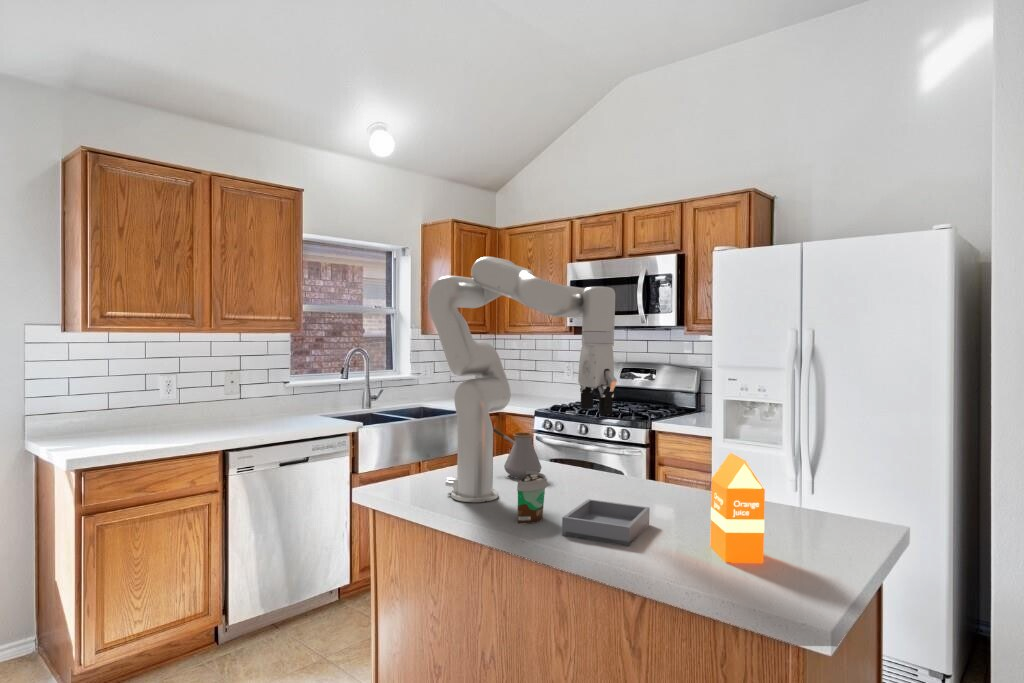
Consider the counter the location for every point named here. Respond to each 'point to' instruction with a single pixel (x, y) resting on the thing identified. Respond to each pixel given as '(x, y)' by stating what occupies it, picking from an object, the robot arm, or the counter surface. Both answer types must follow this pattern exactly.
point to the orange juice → (737, 513)
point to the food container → (531, 497)
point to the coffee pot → (521, 455)
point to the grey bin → (606, 522)
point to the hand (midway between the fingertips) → (595, 411)
